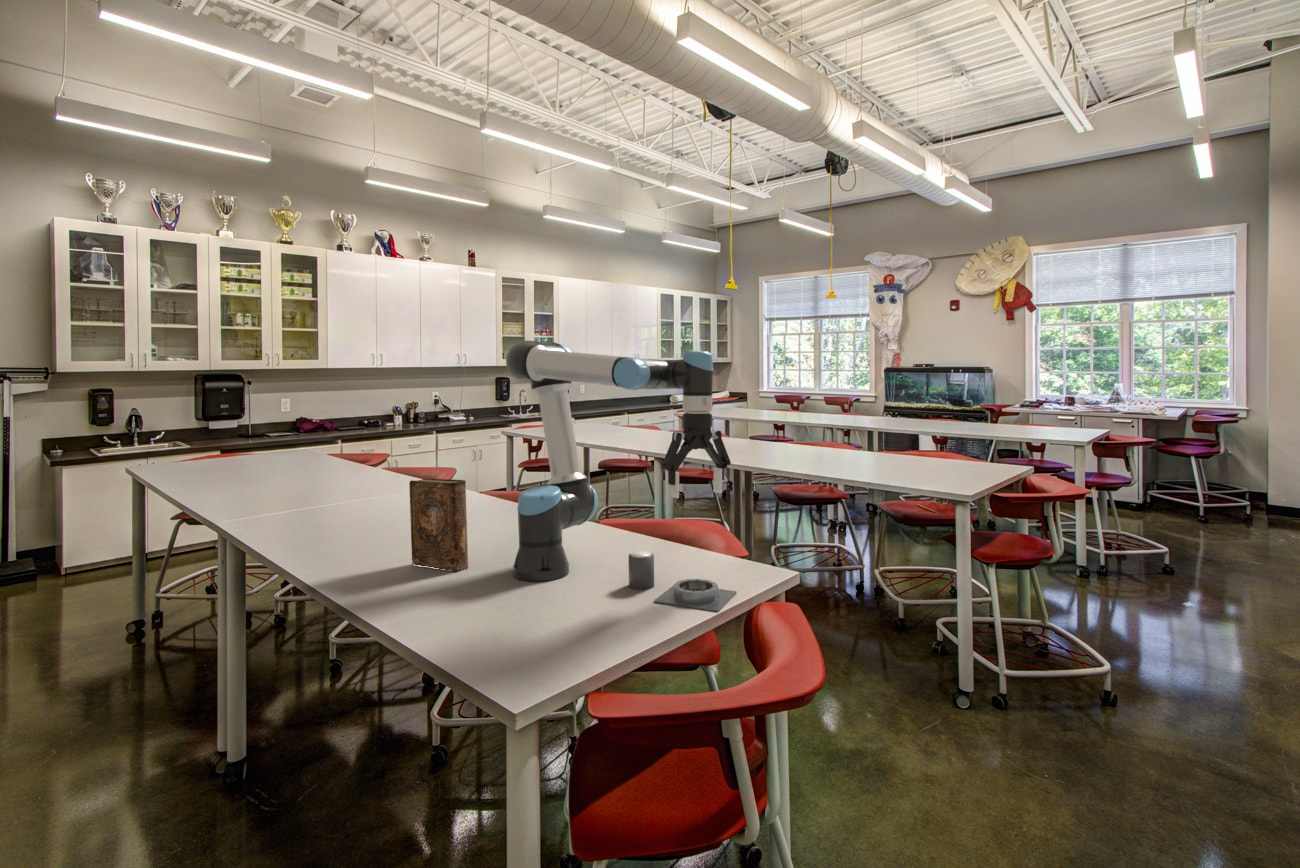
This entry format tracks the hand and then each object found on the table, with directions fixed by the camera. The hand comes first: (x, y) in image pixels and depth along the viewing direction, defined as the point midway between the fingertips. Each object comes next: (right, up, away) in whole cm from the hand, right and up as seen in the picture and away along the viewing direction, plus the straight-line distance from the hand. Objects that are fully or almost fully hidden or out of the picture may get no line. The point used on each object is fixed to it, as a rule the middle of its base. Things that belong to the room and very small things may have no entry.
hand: (696, 495), depth 162 cm
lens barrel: (-14, -23, -1) cm, 27 cm away
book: (-72, -23, +18) cm, 77 cm away
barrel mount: (-1, -24, -10) cm, 26 cm away
